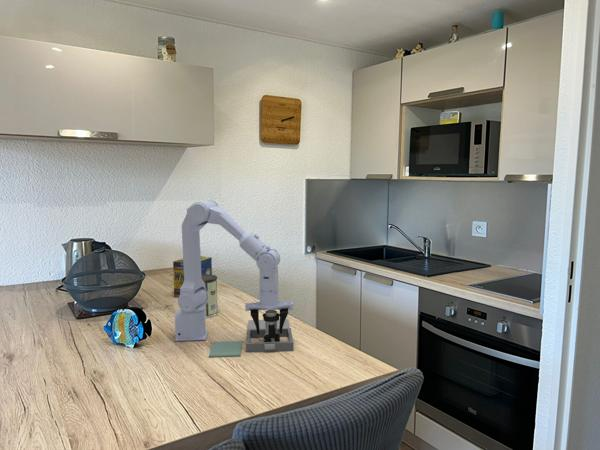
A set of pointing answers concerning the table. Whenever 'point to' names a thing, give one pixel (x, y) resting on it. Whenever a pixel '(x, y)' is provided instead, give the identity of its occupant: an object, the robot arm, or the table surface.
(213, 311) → the coffee can
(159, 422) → the table surface
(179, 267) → the protein box
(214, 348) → the mat
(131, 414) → the table surface
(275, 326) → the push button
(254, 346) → the equipment case
